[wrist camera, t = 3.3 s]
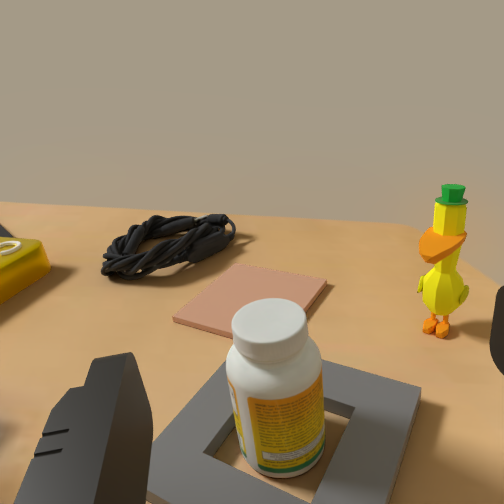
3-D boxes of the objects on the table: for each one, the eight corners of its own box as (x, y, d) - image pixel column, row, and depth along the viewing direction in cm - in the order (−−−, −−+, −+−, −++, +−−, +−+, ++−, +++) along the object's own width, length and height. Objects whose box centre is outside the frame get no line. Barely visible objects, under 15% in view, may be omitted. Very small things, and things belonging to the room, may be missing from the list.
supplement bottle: (223, 448, 27) (196, 325, 23) (278, 397, 30) (264, 281, 26) (288, 501, 23) (271, 367, 19) (343, 437, 26) (339, 310, 22)
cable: (130, 302, 45) (119, 266, 43) (78, 265, 54) (68, 235, 53) (249, 242, 54) (244, 211, 53) (187, 220, 64) (182, 193, 62)
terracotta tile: (275, 351, 34) (275, 345, 34) (173, 321, 40) (172, 316, 40) (327, 284, 43) (326, 279, 42) (235, 267, 48) (235, 262, 48)
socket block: (352, 622, 18) (351, 608, 18) (128, 489, 25) (123, 475, 24) (420, 401, 28) (421, 387, 28) (247, 349, 35) (245, 337, 35)
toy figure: (443, 362, 31) (459, 210, 26) (396, 345, 33) (402, 202, 28) (471, 316, 35) (490, 177, 30) (428, 303, 38) (439, 172, 32)
